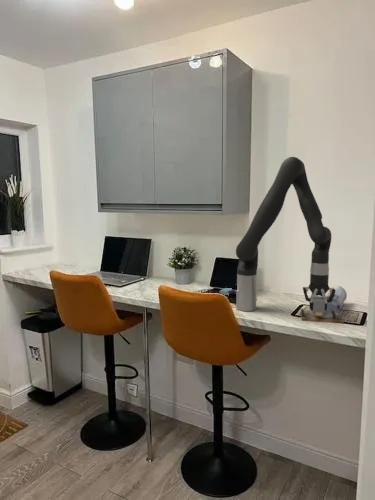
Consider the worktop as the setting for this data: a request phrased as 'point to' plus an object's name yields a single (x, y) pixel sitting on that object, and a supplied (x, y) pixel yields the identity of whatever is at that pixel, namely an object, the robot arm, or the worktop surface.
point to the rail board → (322, 317)
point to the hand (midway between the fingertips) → (318, 310)
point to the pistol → (227, 291)
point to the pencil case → (336, 299)
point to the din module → (318, 306)
